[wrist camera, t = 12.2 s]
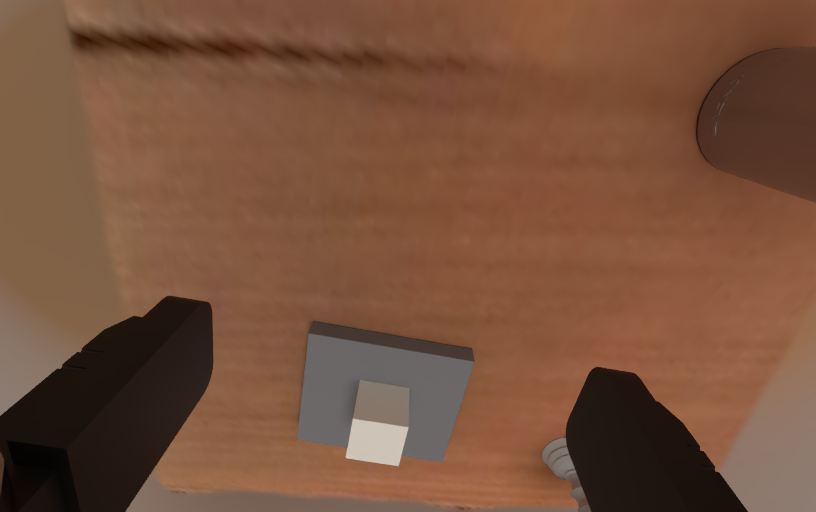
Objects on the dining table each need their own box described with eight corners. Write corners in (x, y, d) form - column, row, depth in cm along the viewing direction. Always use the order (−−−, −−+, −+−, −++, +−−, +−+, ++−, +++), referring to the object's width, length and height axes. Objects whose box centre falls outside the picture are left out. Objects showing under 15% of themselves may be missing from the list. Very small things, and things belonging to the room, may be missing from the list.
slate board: (472, 349, 42) (474, 361, 40) (440, 447, 48) (441, 462, 46) (313, 321, 41) (308, 333, 39) (301, 425, 47) (296, 439, 45)
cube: (409, 387, 42) (408, 427, 37) (400, 424, 44) (398, 466, 39) (359, 379, 41) (352, 418, 37) (353, 416, 43) (345, 458, 39)
